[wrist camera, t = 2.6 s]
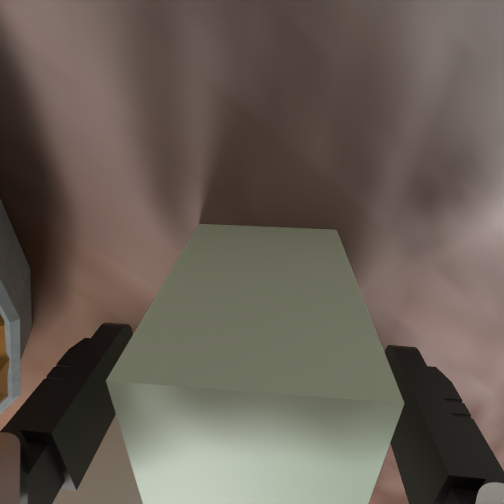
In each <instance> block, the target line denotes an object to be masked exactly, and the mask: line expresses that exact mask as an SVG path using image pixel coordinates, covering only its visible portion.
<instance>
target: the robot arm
mask: <svg viewBox="0 0 504 504" xmlns="http://www.w3.org/2000/svg"><path fill="white" fill-rule="evenodd" d="M132 336H133V333H132V329H131V326H130V325H128V324H117V323H103V324H102V325H101V326H100V327H99V328H98V330H97V331H96V332H95V334H94V335H93V336H92V338H84V339H83V340H81V341H80V342H78V343H77V344H76V345H74V346H73V347H71V348H70V349H69V350H68V351H67V352H66V353H65V354H64V356H63V357H62V358H61V359H60V360H59V362H58V363H57V366H56V367H54V368H53V369H52V370H51V371H50V373H49V374H48V375H47V378H46V379H44V380H43V381H42V382H41V383H40V385H39V386H38V387H37V388H36V389H35V391H34V392H33V393H32V394H31V395H30V397H29V398H28V399H27V400H26V402H25V403H24V404H23V405H22V406H21V408H20V409H19V410H18V411H17V412H16V414H15V415H14V416H13V417H12V418H11V420H10V421H9V422H8V423H7V425H6V426H5V427H4V428H3V429H2V430H1V431H0V504H52V503H53V501H54V500H55V498H56V496H57V494H58V492H59V491H60V489H65V490H74V491H77V489H78V487H79V485H80V483H81V481H82V479H83V477H84V475H85V473H86V471H87V470H88V468H89V466H90V464H91V462H92V460H93V458H94V456H95V454H96V452H97V450H98V448H99V446H100V444H101V442H102V440H103V438H104V436H105V435H106V433H107V431H108V429H109V427H110V425H111V423H112V421H113V419H114V417H115V415H116V413H115V409H114V406H113V403H112V399H111V396H110V393H109V390H108V386H107V383H106V380H107V378H108V376H109V375H110V373H111V371H112V370H113V368H114V366H115V364H116V363H117V361H118V359H119V358H120V356H121V354H122V353H123V351H124V349H125V348H126V346H127V344H128V342H129V341H130V339H131V337H132ZM385 355H386V357H387V360H388V363H389V365H390V368H391V370H392V373H393V375H394V378H395V380H396V383H397V386H398V388H399V391H400V393H401V396H402V398H403V401H404V406H403V409H402V412H401V414H400V417H399V420H398V423H397V425H396V428H395V431H394V434H393V436H392V439H391V442H390V443H391V446H392V449H393V453H394V456H395V459H396V462H397V466H398V469H399V472H400V475H401V478H402V482H403V485H404V488H405V491H406V495H407V498H408V501H409V504H504V471H503V469H502V467H501V466H500V464H499V462H498V461H497V459H496V457H495V455H494V454H493V452H492V450H491V449H490V447H489V445H488V443H487V442H486V440H485V438H484V437H483V435H482V433H481V431H480V430H479V428H478V426H477V425H476V423H475V421H474V419H471V414H470V413H469V411H468V409H467V408H466V406H465V404H464V403H462V399H461V397H460V396H459V394H458V392H457V390H456V389H455V387H454V385H453V384H452V382H451V381H450V380H449V379H448V378H447V377H446V376H445V375H444V374H443V373H442V372H440V371H439V370H438V369H437V368H436V367H429V366H427V365H426V363H425V361H424V359H423V357H422V356H421V354H420V352H419V350H418V349H417V348H415V347H407V346H394V345H389V346H387V348H386V350H385Z"/></svg>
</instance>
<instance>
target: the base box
mask: <svg viewBox="0 0 504 504" xmlns="http://www.w3.org/2000/svg"><path fill="white" fill-rule="evenodd" d="M53 504H143V502H142V499H141V495H140V492H139V489H138V486H137V482H136V479H135V476H134V472H133V469H132V466H131V462H130V459H129V456H128V452H127V449H126V446H125V442H124V439H123V436H122V433H121V429H120V426H119V423H118V419H117V416H116V415H115V417H114V419H113V421H112V423H111V425H110V427H109V429H108V431H107V433H106V435H105V436H104V438H103V440H102V442H101V444H100V446H99V448H98V450H97V452H96V454H95V456H94V458H93V460H92V462H91V464H90V466H89V468H88V470H87V471H86V473H85V475H84V477H83V479H82V481H81V483H80V485H79V487H78V489H77V491H74V490H65V489H60V491H59V493H58V495H57V496H56V498H55V500H54V502H53Z"/></svg>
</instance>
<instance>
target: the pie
mask: <svg viewBox="0 0 504 504" xmlns="http://www.w3.org/2000/svg"><path fill="white" fill-rule="evenodd" d="M30 271H31V269H30V267H29V265H28V262H27V260H26V258H25V255H24V253H23V251H22V248H21V246H20V244H19V241H18V239H17V237H16V234H15V232H14V229H13V227H12V225H11V222H10V220H9V218H8V215H7V213H6V211H5V208H4V206H3V204H2V201H1V199H0V414H1V413H2V412H3V411H4V410H5V409H6V408H7V407H8V406H9V405H10V404H11V403H12V402H14V401H15V400H16V399H17V398H18V397H19V396H20V395H21V379H20V361H21V358H22V355H23V352H24V349H25V347H26V344H27V341H28V338H29V335H30V332H31V329H32V309H31V275H30Z"/></svg>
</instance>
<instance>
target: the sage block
mask: <svg viewBox="0 0 504 504" xmlns="http://www.w3.org/2000/svg"><path fill="white" fill-rule="evenodd" d="M106 383H107V386H108V390H109V393H110V396H111V399H112V403H113V406H114V409H115V413H116V416H117V419H118V423H119V426H120V429H121V433H122V436H123V439H124V442H125V446H126V449H127V452H128V456H129V459H130V462H131V466H132V469H133V472H134V476H135V479H136V482H137V486H138V489H139V492H140V495H141V499H142V502H143V504H368V503H369V500H370V497H371V494H372V492H373V489H374V486H375V483H376V481H377V478H378V475H379V472H380V469H381V467H382V464H383V461H384V458H385V456H386V453H387V450H388V447H389V445H390V442H391V439H392V436H393V434H394V431H395V428H396V425H397V423H398V420H399V417H400V414H401V412H402V409H403V406H404V401H403V398H402V396H401V393H400V391H399V388H398V386H397V383H396V380H395V378H394V375H393V373H392V370H391V368H390V365H389V363H388V360H387V357H386V355H385V352H384V350H383V347H382V345H381V342H380V340H379V337H378V334H377V332H376V329H375V327H374V324H373V322H372V319H371V316H370V314H369V311H368V309H367V306H366V304H365V301H364V299H363V296H362V293H361V291H360V288H359V286H358V283H357V281H356V278H355V276H354V273H353V270H352V268H351V265H350V263H349V260H348V258H347V255H346V252H345V250H344V247H343V245H342V242H341V240H340V237H339V235H338V232H337V230H335V229H311V228H287V227H263V226H239V225H215V224H198V226H197V228H196V229H195V231H194V233H193V234H192V236H191V238H190V240H189V241H188V243H187V245H186V246H185V248H184V250H183V251H182V253H181V255H180V256H179V258H178V260H177V261H176V263H175V265H174V267H173V268H172V270H171V272H170V273H169V275H168V277H167V278H166V280H165V282H164V283H163V285H162V287H161V288H160V290H159V292H158V294H157V295H156V297H155V299H154V300H153V302H152V304H151V305H150V307H149V309H148V310H147V312H146V314H145V315H144V317H143V319H142V321H141V322H140V324H139V326H138V327H137V329H136V331H135V332H134V334H133V336H132V337H131V339H130V341H129V342H128V344H127V346H126V348H125V349H124V351H123V353H122V354H121V356H120V358H119V359H118V361H117V363H116V364H115V366H114V368H113V370H112V371H111V373H110V375H109V376H108V378H107V380H106Z"/></svg>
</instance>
